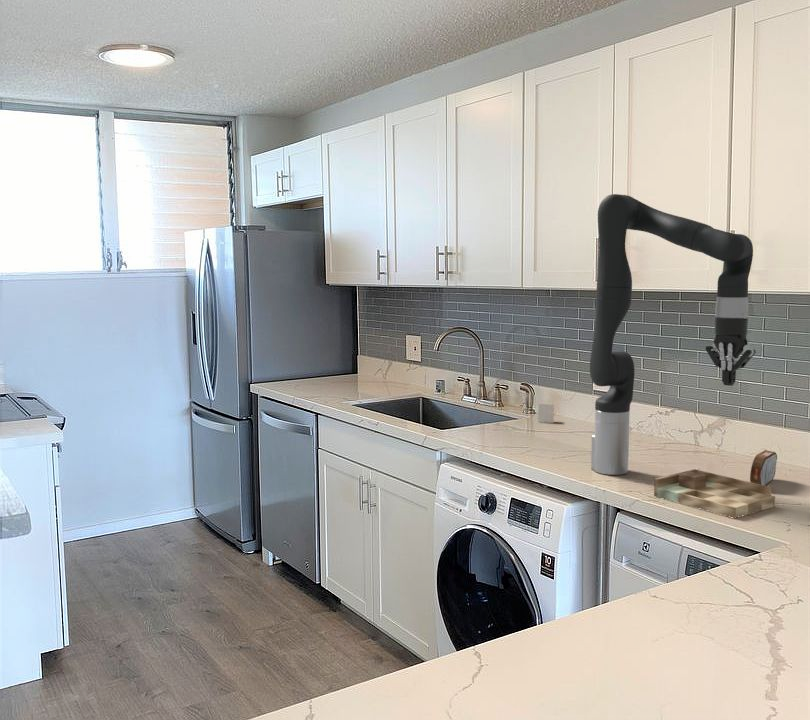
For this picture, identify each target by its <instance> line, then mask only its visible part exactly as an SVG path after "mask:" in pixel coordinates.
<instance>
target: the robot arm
mask: <svg viewBox="0 0 810 720" xmlns="http://www.w3.org/2000/svg"><path fill="white" fill-rule="evenodd" d="M627 230H632V231H639V232H643V233H649V234H651V235H653V236H654V235H655V236H656V237H659V238H662V239H664V240H665V241H668V243H669V242H670V243H671V244H674V245H676V246H679V247H682V248H685V249H688V250H691V251H694V252H698V253H702V254H704V255H706V256H709V257H710V258H713V259H716V260H719V261H721V262H723V263H722V264H723V266H722V273H721V274H720V275H719V276H718V278H717V285H716V287H717V292H716V302H715V314H714V315H715V316H714V334H715V337H714V339H713V343H711V344H710V345H708V346H707V345H706V346H705V351H706V353H707V354H708V356H709V357H710V359H711V361H712V363H713V364H714V366H715V367H716V368H717V367H718V368H720V369H721V371H722V374H721V381H722V384H723V386H731V387H732V386H734V384H735V383H736V380H737V379H736V378H737V377H736V376H737V370H740V369H743V368H744V367H746V365H747V363H749V361H751V359H752V358H753V357H754V356H755V354H756V352H757V351H756V349H753V348H751V347H750V346H749V344H748V340H747V335H748V326H749V325H748V324H749V323H748V322H749V299H748V297H749V276H750V272H751V269H752V262H753V259H754V258H753V256H754V247H753V246H754V245H753V242H752V240H751V239H750V238H749V237H748V236H747V235H745V234H740V233H733V232H728V231H725V230H721V229H718V228H714V227H713V226H711V225H709V224H707V223H703V222H699V221H697V220H693V219H691V218H686V217H683V216H678V215H674V214H672V213H667V212H664V211H662V210H659V209H657V208H654V207H652V206H649V205H648V204H645V203H643V202H642V201H640V200H638V199H636V198H634V197H633V196H632V195H631V196H630V195H627V194H620V193H619V194H618V193H614V194H609V195H606V196H605V197H604V198H603V199H602V200H601V202H600V203H599V206H598V209H597V231H598V257H597V258H598V260H597V277H596V278H597V279H596V293H595V295H596V296H595V315H594V316H595V317H594V332H593V339H592V345H591V350H590V351H591V352H590V357H589V358H590V360H589V375H590V379H591V381H592V383H593V384H594V385H596V386H597V387H609V388H608V390H607V391H606V393H604V394H603V395H601V396H599V397H598V398H596V400H595V403H594V404H595V405H594V408H595V409H594V435H593V434H592V436H591V449H590V450H591V453H590V455H591V456H590V460H591V461H590V469H591V470H593V471H594V472H596V473H598V474H602V475H610V476H611V475H612V476H614V475H615V476H619V475H621V476H622V475H625V474H628V473H629V449H630V447H629V445H630V413H631V411H630V410H631V404H632V401H633V396H634V386H635V385H634V384H635V372H636V371H635V363H634V360H633V357H632V355H630V353H628V352H626V351H613V345H614V339H615V335H616V333H617V331H618V328H619V327H620V325H621V323H622V322H623V320H624V319H625V317H626V316H627V313H629V310H630V308H631V304H632V293H633V292H632V291H633V275H632V271H631V267H630V265H629V261H628V257H627V252H626V240H627Z"/></svg>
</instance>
